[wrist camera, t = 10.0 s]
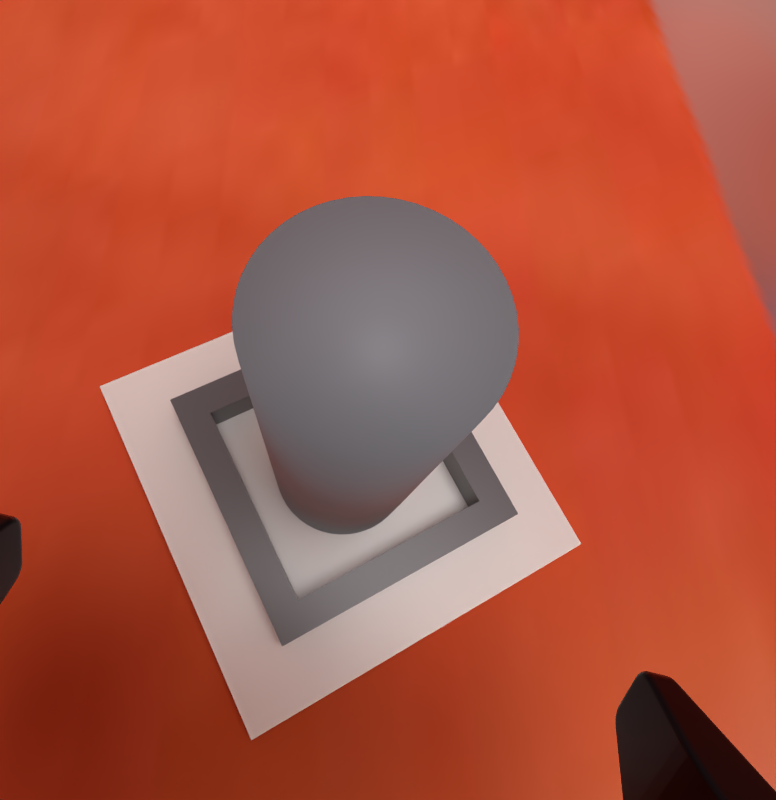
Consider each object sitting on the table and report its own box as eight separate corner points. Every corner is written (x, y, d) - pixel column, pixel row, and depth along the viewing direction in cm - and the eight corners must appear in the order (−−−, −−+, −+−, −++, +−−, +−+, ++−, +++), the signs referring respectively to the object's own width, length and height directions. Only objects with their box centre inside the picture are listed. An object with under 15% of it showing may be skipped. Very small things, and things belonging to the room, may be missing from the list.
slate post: (364, 561, 21) (430, 519, 9) (248, 487, 21) (170, 354, 9) (431, 447, 23) (564, 286, 11) (323, 380, 23) (335, 151, 11)
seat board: (254, 733, 20) (246, 752, 18) (108, 394, 23) (85, 371, 20) (570, 546, 23) (599, 540, 21) (409, 269, 26) (419, 237, 24)
